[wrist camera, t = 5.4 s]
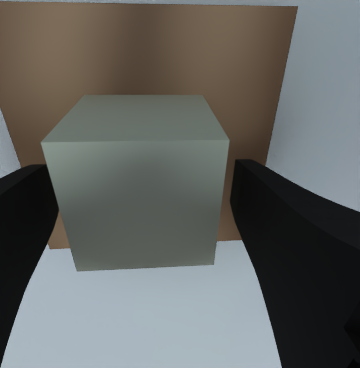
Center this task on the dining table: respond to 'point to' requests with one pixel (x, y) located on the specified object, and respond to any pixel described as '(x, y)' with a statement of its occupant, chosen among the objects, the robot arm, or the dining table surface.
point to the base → (144, 70)
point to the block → (139, 180)
